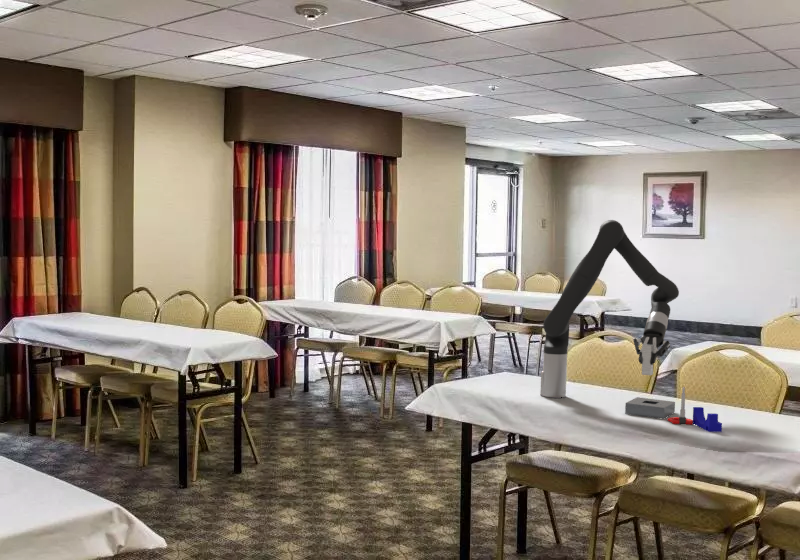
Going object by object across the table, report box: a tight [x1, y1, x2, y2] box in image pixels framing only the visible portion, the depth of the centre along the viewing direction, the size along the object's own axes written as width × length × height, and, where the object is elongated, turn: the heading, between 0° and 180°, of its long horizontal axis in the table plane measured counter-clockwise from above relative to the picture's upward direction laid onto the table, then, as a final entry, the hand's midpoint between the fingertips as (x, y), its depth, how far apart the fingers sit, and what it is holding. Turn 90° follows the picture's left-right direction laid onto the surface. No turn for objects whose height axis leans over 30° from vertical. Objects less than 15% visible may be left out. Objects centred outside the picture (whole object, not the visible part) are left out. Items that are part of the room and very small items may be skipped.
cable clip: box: [692, 406, 723, 433], centre depth 295 cm, size 12×4×6 cm, turn 7°
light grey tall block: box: [641, 344, 654, 376], centre depth 318 cm, size 3×3×11 cm
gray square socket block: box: [624, 396, 676, 420], centre depth 317 cm, size 14×14×4 cm
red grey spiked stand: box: [667, 386, 694, 426], centre depth 304 cm, size 8×13×9 cm
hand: (646, 362), depth 316 cm, fingers closed on light grey tall block, 3 cm apart
